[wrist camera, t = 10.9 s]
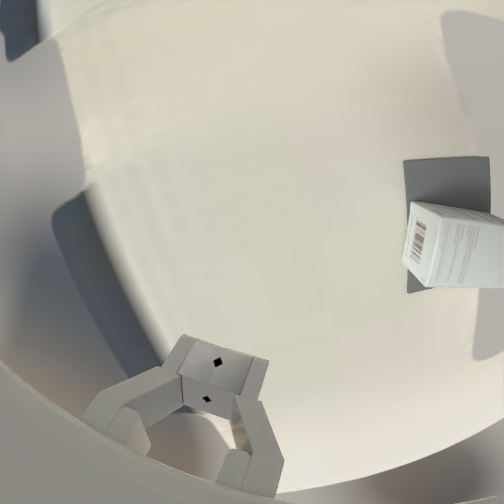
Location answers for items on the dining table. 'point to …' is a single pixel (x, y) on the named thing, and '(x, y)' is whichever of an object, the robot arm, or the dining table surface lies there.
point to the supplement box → (454, 247)
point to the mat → (447, 189)
